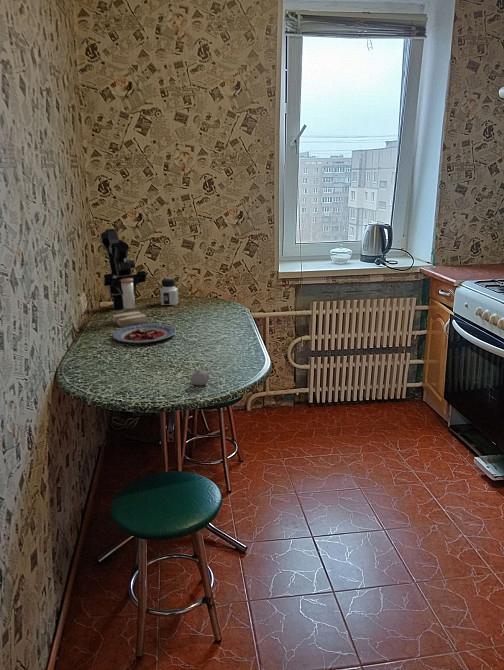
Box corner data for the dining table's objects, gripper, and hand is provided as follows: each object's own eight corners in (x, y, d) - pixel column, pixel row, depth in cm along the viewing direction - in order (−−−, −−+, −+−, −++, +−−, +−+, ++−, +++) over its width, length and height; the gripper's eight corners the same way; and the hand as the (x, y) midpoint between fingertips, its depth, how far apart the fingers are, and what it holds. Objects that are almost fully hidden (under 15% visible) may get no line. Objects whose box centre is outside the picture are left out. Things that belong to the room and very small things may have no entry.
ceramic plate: (163, 348, 209) (163, 341, 208) (102, 345, 214) (101, 338, 213) (184, 329, 233) (184, 323, 232) (129, 327, 238) (128, 320, 237)
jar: (125, 305, 247) (122, 277, 243) (136, 305, 246) (134, 277, 242) (121, 308, 242) (119, 280, 238) (133, 308, 241) (131, 280, 237)
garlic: (196, 389, 168) (195, 373, 167) (187, 384, 172) (187, 368, 171) (212, 384, 172) (212, 369, 170) (204, 379, 176) (203, 364, 174)
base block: (113, 321, 248) (112, 314, 247) (137, 317, 254) (137, 310, 253) (121, 326, 238) (121, 320, 237) (147, 322, 244) (146, 316, 243)
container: (176, 305, 274) (174, 280, 270) (161, 305, 274) (159, 280, 270) (178, 302, 281) (176, 277, 277) (163, 302, 281) (161, 277, 278)
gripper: (101, 256, 237) (108, 285, 231) (143, 252, 244) (151, 281, 237) (101, 271, 246) (107, 299, 240) (141, 267, 253) (148, 295, 247)
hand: (128, 293), depth 241 cm, fingers closed on jar, 5 cm apart
